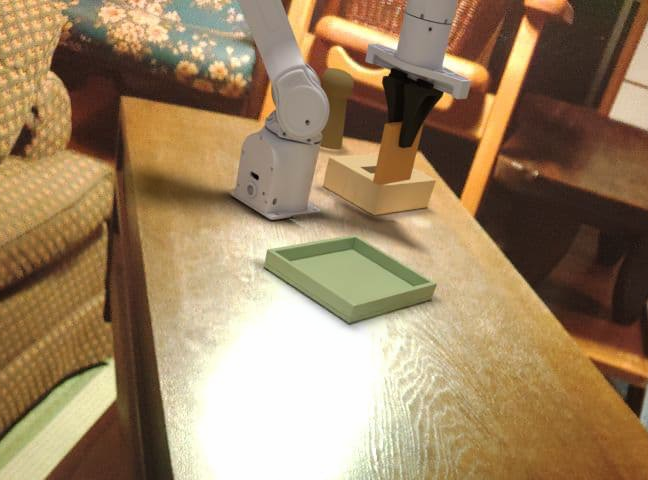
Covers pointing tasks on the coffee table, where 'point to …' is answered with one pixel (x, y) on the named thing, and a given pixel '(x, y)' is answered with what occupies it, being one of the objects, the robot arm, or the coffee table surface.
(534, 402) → the coffee table surface
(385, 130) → the toast
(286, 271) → the tray
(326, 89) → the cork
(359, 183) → the toaster
